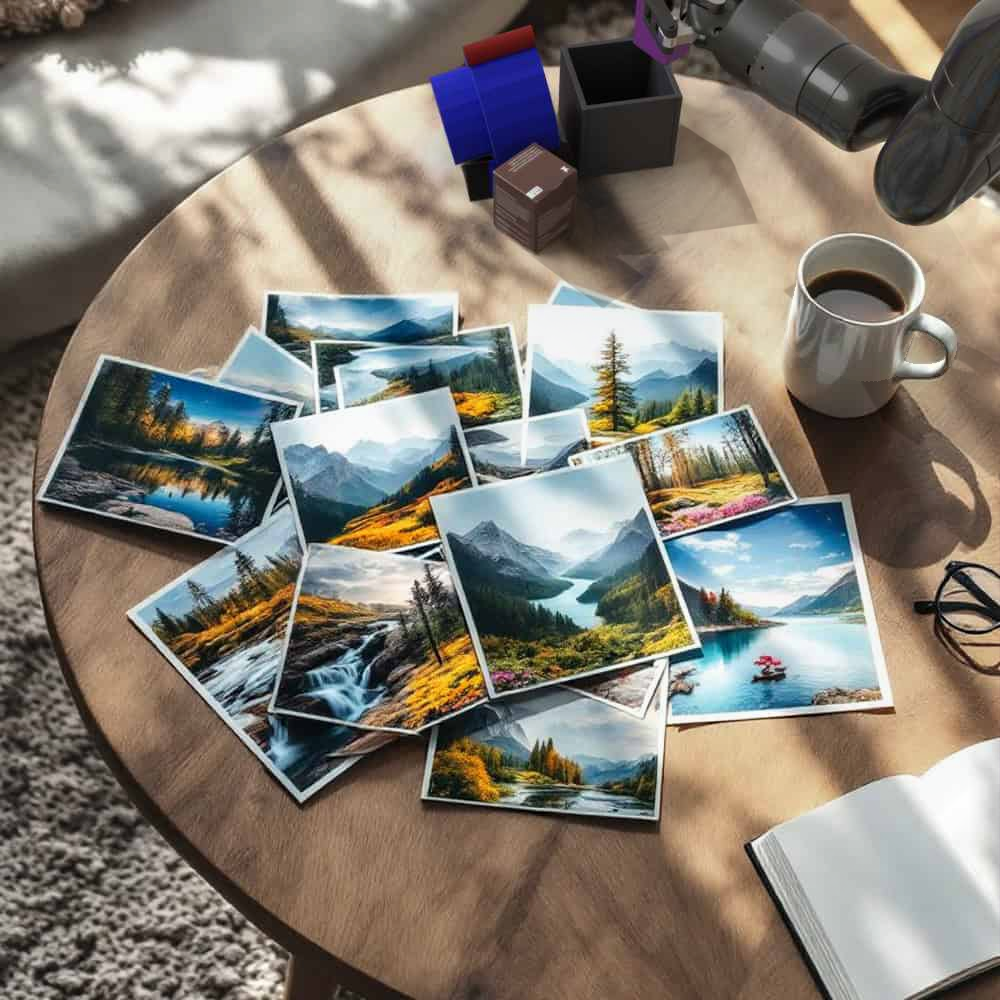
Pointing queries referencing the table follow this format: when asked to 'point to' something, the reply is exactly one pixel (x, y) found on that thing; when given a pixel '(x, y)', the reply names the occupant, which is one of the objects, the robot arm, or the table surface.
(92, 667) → the table surface
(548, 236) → the box
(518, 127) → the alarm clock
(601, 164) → the bin
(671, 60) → the perfume bottle
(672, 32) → the robot arm
